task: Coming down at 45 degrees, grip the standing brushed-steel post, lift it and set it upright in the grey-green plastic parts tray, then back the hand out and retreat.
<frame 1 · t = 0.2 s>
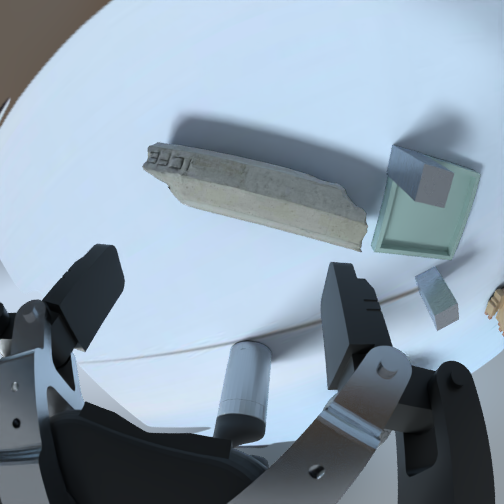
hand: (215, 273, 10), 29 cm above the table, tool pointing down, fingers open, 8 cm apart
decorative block: (261, 183, 38), on the table
post b: (402, 163, 33), resting in tray
tray: (426, 206, 36), on the table
post a: (427, 279, 43), on the table
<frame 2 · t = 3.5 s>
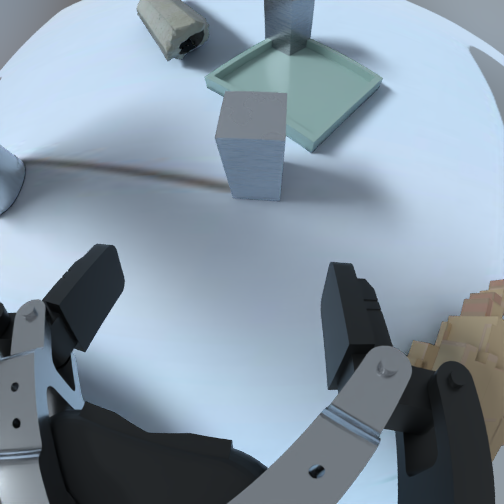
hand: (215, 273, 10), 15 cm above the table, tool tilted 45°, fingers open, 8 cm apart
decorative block: (171, 33, 35), on the table
post b: (287, 47, 31), resting in tray
tray: (297, 82, 29), on the table
post a: (258, 178, 27), on the table
toy: (453, 371, 21), on the table
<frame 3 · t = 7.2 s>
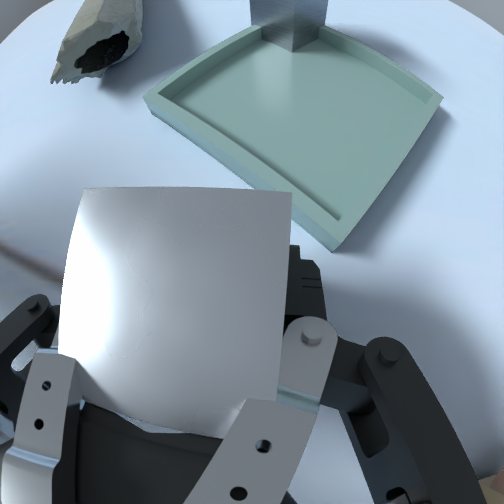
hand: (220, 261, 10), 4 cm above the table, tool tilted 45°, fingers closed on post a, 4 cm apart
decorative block: (119, 31, 22), on the table
post b: (287, 39, 19), resting in tray
tray: (305, 97, 17), on the table
post a: (229, 311, 14), on the table, touching gripper
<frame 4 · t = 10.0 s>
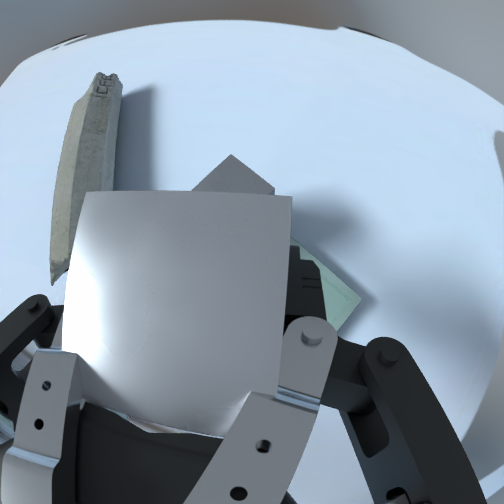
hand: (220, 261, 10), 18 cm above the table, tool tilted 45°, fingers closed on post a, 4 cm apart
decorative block: (100, 174, 33), on the table
post b: (243, 231, 29), resting on tray
tray: (248, 308, 28), on the table
post a: (229, 312, 14), point 14 cm above the table, touching gripper
when the fingers open (7 cm above the table, at t = 12.6 s): post a drops 1 cm, resting on tray.
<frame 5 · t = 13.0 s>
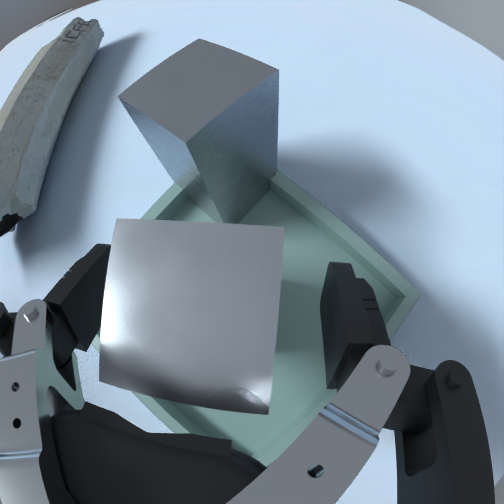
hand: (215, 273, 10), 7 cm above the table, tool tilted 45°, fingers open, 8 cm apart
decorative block: (51, 134, 22), on the table
post b: (228, 190, 18), resting on tray
tray: (235, 311, 17), on the table
post a: (233, 313, 16), point 1 cm above the table, touching tray
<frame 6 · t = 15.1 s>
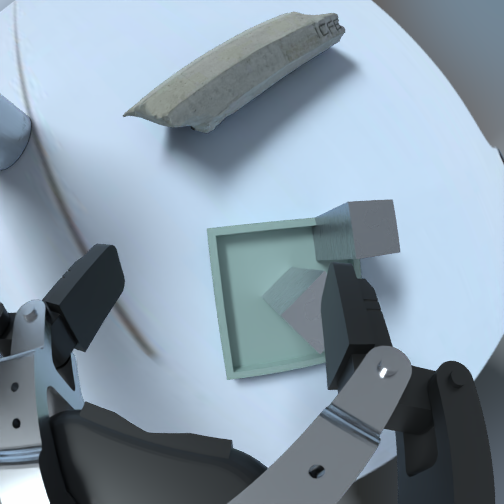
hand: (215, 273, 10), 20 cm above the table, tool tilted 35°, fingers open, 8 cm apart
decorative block: (247, 78, 31), on the table
post b: (330, 238, 31), resting on tray
tray: (289, 295, 30), on the table
post a: (290, 296, 29), point 1 cm above the table, touching tray
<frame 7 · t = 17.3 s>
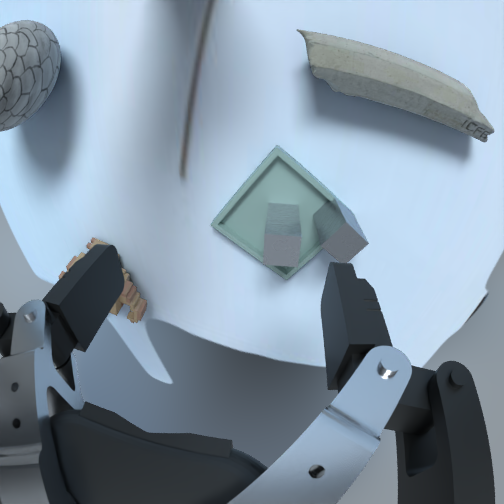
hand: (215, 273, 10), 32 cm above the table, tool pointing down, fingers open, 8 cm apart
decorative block: (397, 84, 30), on the table
post b: (332, 212, 42), resting on tray
tray: (282, 215, 43), on the table
post a: (282, 216, 43), point 1 cm above the table, touching tray
decorative sphere: (47, 69, 31), on the table
toy: (113, 276, 55), on the table
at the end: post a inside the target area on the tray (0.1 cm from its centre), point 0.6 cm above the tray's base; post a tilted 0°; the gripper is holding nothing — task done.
